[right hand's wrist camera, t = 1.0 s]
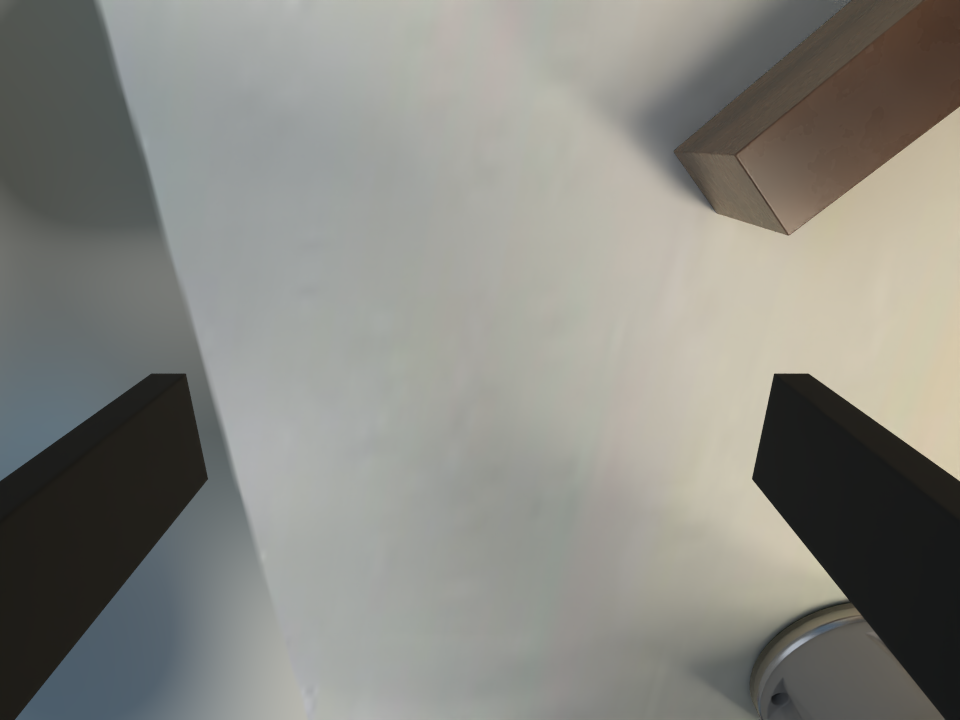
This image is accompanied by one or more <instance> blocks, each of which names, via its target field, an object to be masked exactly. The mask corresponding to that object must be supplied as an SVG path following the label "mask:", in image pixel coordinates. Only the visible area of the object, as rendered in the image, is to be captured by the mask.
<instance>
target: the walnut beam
mask: <svg viewBox="0 0 960 720" xmlns="http://www.w3.org/2000/svg"><path fill="white" fill-rule="evenodd" d="M958 107H960V0H852V1H851V2H849V3H848V4H847V5H846V6H845V7H843V8H842V9H841V10H840V11H839V12H838V13H836V14H835V15H834V16H833V17H832V18H830V19H829V20H828V21H827V22H826V23H825V24H823V25H822V26H821V27H820V28H819V29H817V30H816V31H815V32H814V33H813V34H812V35H810V36H809V37H808V38H807V39H806V40H804V41H803V42H802V43H801V44H800V45H798V46H797V47H796V48H795V49H794V50H793V51H791V52H790V53H789V54H788V55H787V56H785V57H784V58H783V59H782V60H781V61H780V62H778V63H777V64H776V65H775V66H774V67H772V68H771V69H770V70H769V71H768V72H767V73H765V74H764V75H763V76H762V77H761V78H759V79H758V80H757V81H756V82H755V83H754V84H752V85H751V86H750V87H749V88H748V89H746V90H745V91H744V92H743V93H742V94H741V95H739V96H738V97H737V98H736V99H735V100H733V101H732V102H731V103H730V104H729V105H728V106H726V107H725V108H724V109H723V110H722V111H720V112H719V113H718V114H717V115H716V116H714V117H713V118H712V119H711V120H710V121H709V122H707V123H706V124H705V125H704V126H703V127H701V128H700V129H699V130H698V131H697V132H696V133H694V134H693V135H692V136H691V137H690V138H688V139H687V140H686V141H685V142H684V143H683V144H681V145H680V146H679V147H678V148H677V149H675V150H674V153H675V154H676V156H677V157H678V159H679V160H680V162H681V163H682V164H683V166H684V167H685V169H686V170H687V171H688V173H689V174H690V176H691V177H692V179H693V180H694V181H695V183H696V184H697V186H698V187H699V188H700V190H701V191H702V193H703V194H704V196H705V197H706V198H707V200H708V201H709V203H710V204H711V205H712V207H713V208H714V210H715V211H716V213H718V214H721V215H724V216H727V217H730V218H734V219H737V220H740V221H743V222H746V223H750V224H753V225H756V226H759V227H763V228H766V229H769V230H772V231H775V232H779V233H782V234H785V235H790V234H792V233H793V232H794V231H796V230H797V229H798V228H800V227H801V226H802V225H804V224H805V223H806V222H808V221H809V220H810V219H811V218H813V217H814V216H815V215H817V214H818V213H819V212H821V211H822V210H823V209H825V208H826V207H827V206H829V205H830V204H831V203H833V202H834V201H835V200H837V199H838V198H839V197H841V196H842V195H843V194H845V193H846V192H847V191H849V190H850V189H851V188H853V187H854V186H855V185H856V184H858V183H859V182H860V181H862V180H863V179H864V178H866V177H867V176H868V175H870V174H871V173H872V172H874V171H875V170H876V169H878V168H879V167H880V166H882V165H883V164H884V163H886V162H887V161H888V160H890V159H891V158H892V157H894V156H895V155H896V154H897V153H899V152H900V151H901V150H903V149H904V148H905V147H907V146H908V145H909V144H911V143H912V142H913V141H915V140H916V139H917V138H919V137H920V136H921V135H923V134H924V133H925V132H927V131H928V130H929V129H931V128H932V127H933V126H935V125H936V124H937V123H939V122H940V121H941V120H942V119H944V118H945V117H946V116H948V115H949V114H950V113H952V112H953V111H954V110H956V109H957V108H958Z"/></svg>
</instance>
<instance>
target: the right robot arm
mask: <svg viewBox="0 0 960 720" xmlns="http://www.w3.org/2000/svg"><path fill="white" fill-rule="evenodd" d="M207 480H208V477H207V472H206V467H205V463H204V458H203V453H202V448H201V444H200V439H199V434H198V429H197V425H196V420H195V415H194V411H193V406H192V401H191V396H190V391H189V387H188V382H187V377H186V374H150V375H149V376H148V377H146V378H145V379H143V380H142V381H140V382H139V383H138V384H136V385H135V386H133V387H132V388H131V389H129V390H128V391H126V392H125V393H124V394H122V395H121V396H119V397H118V398H117V399H115V400H114V401H112V402H111V403H110V404H108V405H107V406H105V407H104V408H103V409H101V410H100V411H98V412H97V413H96V414H94V415H93V416H91V417H90V418H88V419H87V420H86V421H84V422H83V423H81V424H80V425H79V426H77V427H76V428H74V429H73V430H72V431H70V432H69V433H67V434H66V435H65V436H63V437H62V438H60V439H59V440H58V441H56V442H55V443H53V444H52V445H51V446H49V447H48V448H46V449H45V450H44V451H42V452H41V453H39V454H38V455H37V456H35V457H34V458H32V459H31V460H29V461H28V462H27V463H25V464H24V465H22V466H21V467H20V468H18V469H17V470H15V471H14V472H13V473H11V474H10V475H8V476H7V477H6V478H4V479H3V480H1V481H0V720H15V719H16V718H17V716H18V715H19V714H20V713H21V711H22V710H23V709H24V708H25V706H26V705H27V704H28V702H29V701H30V700H31V699H32V698H33V696H34V695H35V694H36V693H37V691H38V690H39V689H40V688H41V686H42V685H43V684H44V683H45V681H46V680H47V679H48V678H49V676H50V675H51V674H52V673H53V671H54V670H55V669H56V668H57V666H58V665H59V664H60V663H61V661H62V660H63V659H64V658H65V656H66V655H67V654H68V653H69V651H70V650H71V649H72V648H73V647H74V645H75V644H76V643H77V642H78V640H79V639H80V638H81V637H82V635H83V634H84V633H85V632H86V630H87V629H88V628H89V627H90V625H91V624H92V623H93V622H94V620H95V619H96V618H97V617H98V615H99V614H100V613H101V612H102V610H103V609H104V608H105V607H106V605H107V604H108V603H109V602H110V600H111V599H112V598H113V597H114V595H115V594H116V593H117V592H118V590H119V589H120V588H121V587H122V585H123V584H124V583H125V582H126V580H127V579H128V578H129V577H130V575H131V574H132V573H133V572H134V570H135V569H136V568H137V567H138V565H139V564H140V563H141V562H142V561H143V559H144V558H145V557H146V556H147V554H148V553H149V552H150V551H151V549H152V548H153V547H154V546H155V544H156V543H157V542H158V540H159V539H160V538H161V537H162V536H163V534H164V533H165V532H166V531H167V529H168V528H169V527H170V526H171V524H172V523H173V522H174V521H175V519H176V518H177V517H178V516H179V514H180V513H181V512H182V511H183V509H184V508H185V507H186V506H187V504H188V503H189V502H190V501H191V499H192V498H193V497H194V496H195V494H196V493H197V492H198V491H199V489H200V488H201V487H202V486H203V485H204V483H205V482H206V481H207ZM752 480H753V481H754V482H755V483H756V485H757V486H758V487H759V488H760V489H761V491H762V492H763V493H764V494H765V496H766V497H767V498H768V499H769V501H770V502H771V503H772V504H773V506H774V507H775V508H776V509H777V511H778V512H779V513H780V514H781V516H782V517H783V518H784V519H785V521H786V522H787V523H788V524H789V526H790V527H791V528H792V529H793V531H794V532H795V533H796V534H797V536H798V537H799V538H800V539H801V541H802V542H803V543H804V544H805V546H806V547H807V548H808V549H809V551H810V552H811V553H812V554H813V556H814V557H815V558H816V559H817V561H818V562H819V563H820V564H821V566H822V567H823V568H824V569H825V570H826V572H827V573H828V574H829V575H830V577H831V578H832V579H833V580H834V582H835V583H836V584H837V585H838V587H839V588H840V589H841V590H842V592H843V593H844V594H845V595H846V597H847V598H848V599H849V600H850V602H851V603H847V604H841V605H837V606H833V607H829V608H826V609H823V610H820V611H817V612H815V613H812V614H810V615H808V616H806V617H804V618H802V619H800V620H798V621H796V622H795V623H793V624H791V625H790V626H788V627H787V628H786V629H784V630H783V631H781V632H780V633H779V634H778V635H777V636H776V637H774V638H773V639H772V640H771V641H770V642H769V644H768V645H767V646H766V647H765V648H764V649H763V651H762V652H761V654H760V655H759V657H758V659H757V661H756V662H755V665H754V667H753V670H752V673H751V678H750V694H751V698H752V701H753V703H754V706H755V708H756V710H757V712H758V714H759V716H760V718H761V720H960V481H959V480H957V479H956V478H954V477H953V476H952V475H950V474H949V473H947V472H946V471H945V470H943V469H942V468H940V467H939V466H938V465H936V464H935V463H933V462H932V461H931V460H929V459H928V458H926V457H925V456H924V455H922V454H921V453H919V452H918V451H916V450H915V449H914V448H912V447H911V446H909V445H908V444H907V443H905V442H904V441H902V440H901V439H900V438H898V437H897V436H895V435H894V434H893V433H891V432H890V431H888V430H887V429H886V428H884V427H883V426H881V425H880V424H879V423H877V422H876V421H874V420H873V419H872V418H870V417H869V416H867V415H866V414H864V413H863V412H862V411H860V410H859V409H857V408H856V407H855V406H853V405H852V404H850V403H849V402H848V401H846V400H845V399H843V398H842V397H841V396H839V395H838V394H836V393H835V392H834V391H832V390H831V389H829V388H828V387H827V386H825V385H824V384H822V383H821V382H820V381H818V380H817V379H815V378H814V377H812V376H811V375H810V374H774V377H773V382H772V387H771V391H770V396H769V401H768V406H767V410H766V415H765V420H764V425H763V429H762V434H761V439H760V444H759V448H758V453H757V458H756V463H755V467H754V472H753V477H752Z"/></svg>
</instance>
